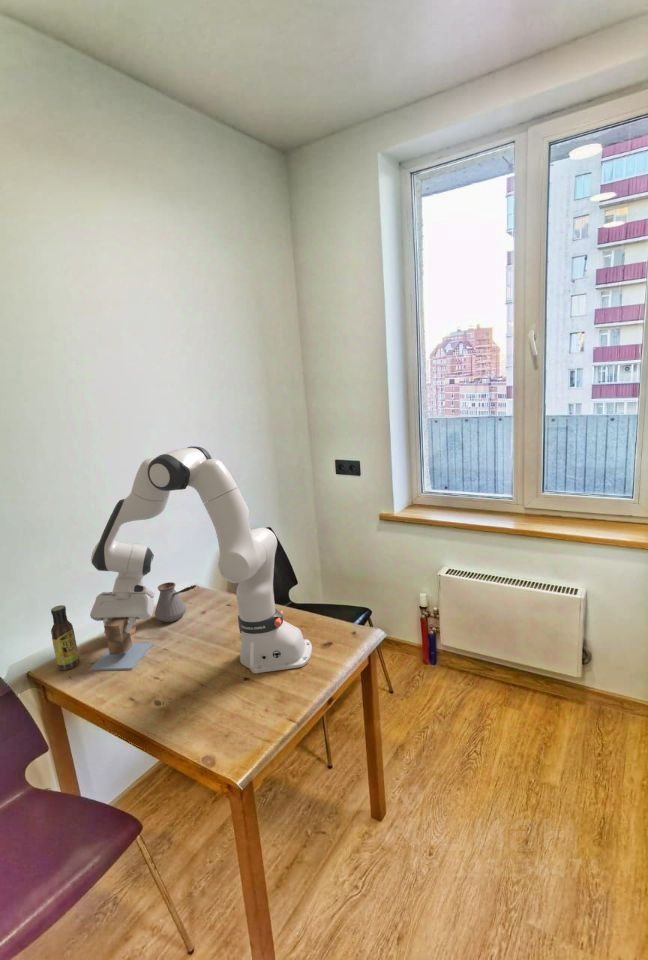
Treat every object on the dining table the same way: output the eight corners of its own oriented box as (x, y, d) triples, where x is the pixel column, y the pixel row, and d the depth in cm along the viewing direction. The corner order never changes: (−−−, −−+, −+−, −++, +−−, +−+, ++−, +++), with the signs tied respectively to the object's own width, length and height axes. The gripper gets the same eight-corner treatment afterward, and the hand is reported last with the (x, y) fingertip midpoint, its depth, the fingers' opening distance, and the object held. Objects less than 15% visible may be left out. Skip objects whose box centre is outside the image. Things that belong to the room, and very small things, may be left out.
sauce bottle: (68, 672, 147) (55, 614, 143) (53, 670, 149) (40, 612, 145) (84, 660, 153) (72, 604, 149) (70, 658, 155) (58, 602, 151)
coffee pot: (149, 622, 175) (142, 584, 172) (172, 608, 185) (166, 572, 182) (191, 632, 165) (185, 592, 162) (213, 616, 175) (208, 579, 172)
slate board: (152, 644, 159) (152, 643, 159) (132, 669, 145) (131, 667, 145) (114, 645, 161) (113, 644, 161) (90, 670, 147) (89, 668, 147)
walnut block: (132, 645, 155) (127, 617, 153) (124, 654, 150) (118, 625, 148) (117, 646, 155) (112, 618, 153) (109, 654, 150) (104, 626, 148)
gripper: (93, 589, 157) (80, 631, 149) (151, 586, 154) (141, 629, 147) (102, 595, 162) (91, 636, 154) (159, 593, 160) (150, 634, 152)
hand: (116, 633), depth 151 cm, fingers closed on walnut block, 5 cm apart
